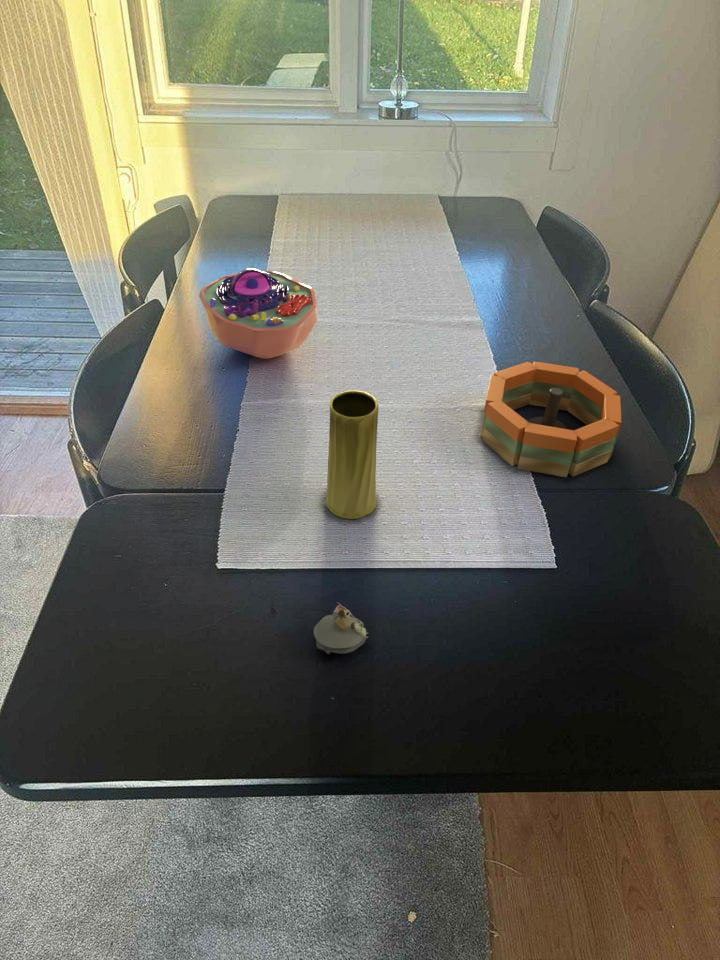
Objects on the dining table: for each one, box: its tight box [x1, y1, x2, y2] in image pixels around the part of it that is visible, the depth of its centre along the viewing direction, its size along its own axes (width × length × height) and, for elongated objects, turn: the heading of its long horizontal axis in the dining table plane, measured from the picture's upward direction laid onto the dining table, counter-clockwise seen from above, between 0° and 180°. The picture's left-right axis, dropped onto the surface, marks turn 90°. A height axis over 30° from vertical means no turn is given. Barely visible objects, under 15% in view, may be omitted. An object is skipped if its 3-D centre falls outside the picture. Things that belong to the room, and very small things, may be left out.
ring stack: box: [480, 381, 619, 478], centre depth 93 cm, size 17×17×7 cm
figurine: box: [313, 602, 369, 655], centre depth 66 cm, size 5×4×6 cm
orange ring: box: [483, 361, 623, 453], centre depth 92 cm, size 17×17×2 cm
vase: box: [325, 390, 379, 520], centre depth 79 cm, size 6×6×14 cm
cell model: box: [198, 267, 318, 360], centre depth 107 cm, size 17×20×11 cm
